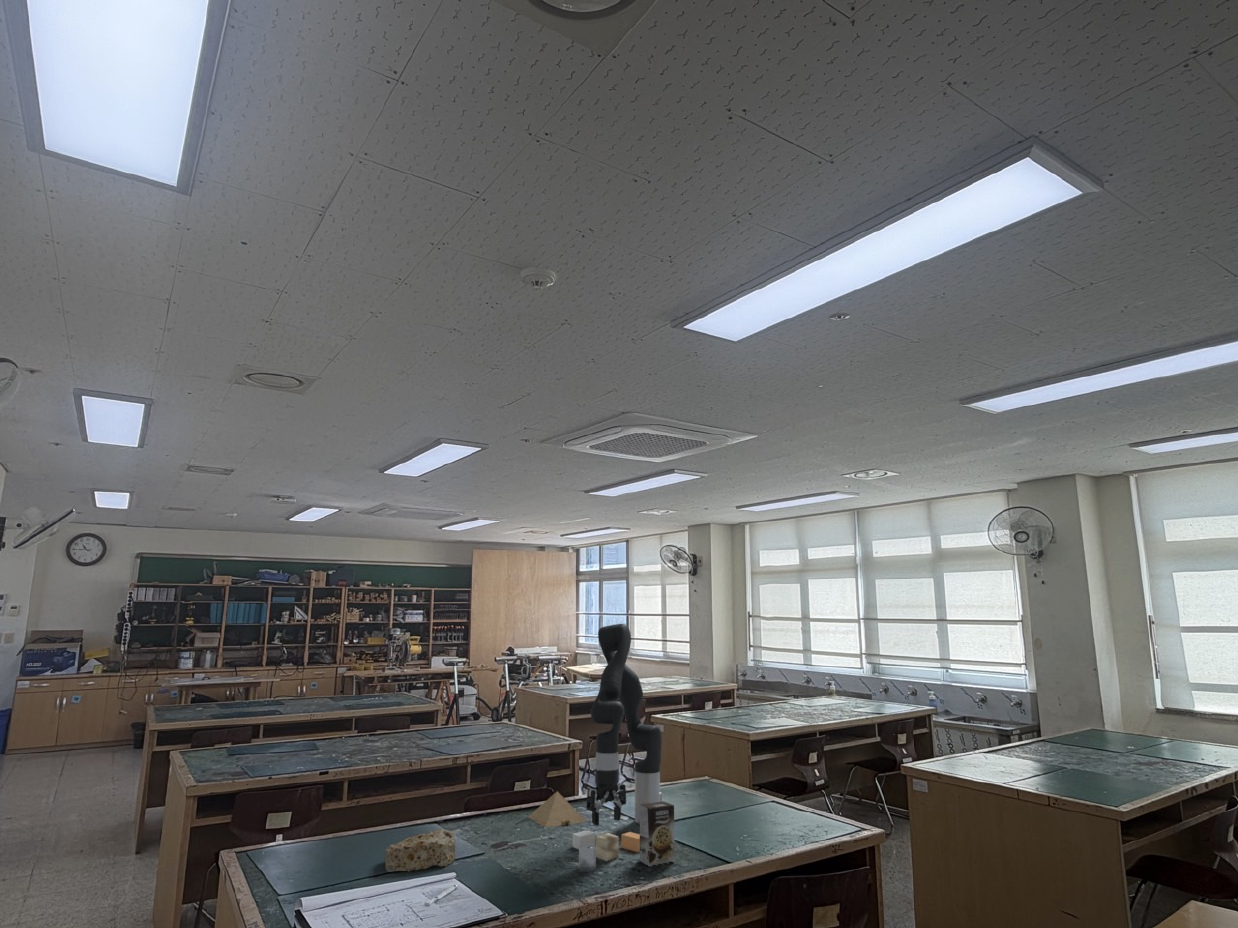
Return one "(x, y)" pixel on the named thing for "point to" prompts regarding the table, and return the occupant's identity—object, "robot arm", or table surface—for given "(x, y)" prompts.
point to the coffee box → (656, 833)
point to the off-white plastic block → (583, 838)
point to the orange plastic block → (631, 841)
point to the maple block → (607, 846)
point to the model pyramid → (556, 812)
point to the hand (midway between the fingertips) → (606, 822)
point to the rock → (421, 851)
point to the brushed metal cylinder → (587, 857)
